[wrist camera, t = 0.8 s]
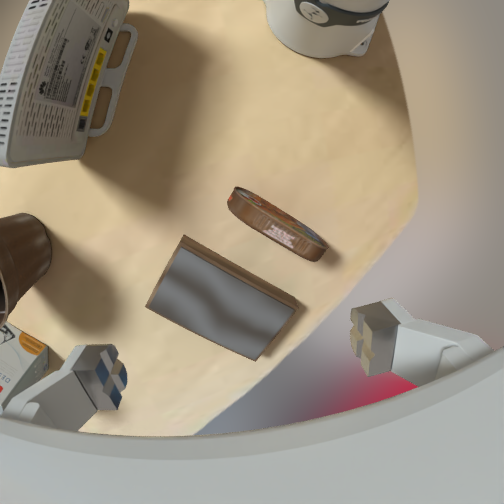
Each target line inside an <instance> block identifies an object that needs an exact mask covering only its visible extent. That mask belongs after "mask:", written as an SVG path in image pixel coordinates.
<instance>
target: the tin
mask: <svg viewBox="0 0 504 504" xmlns="http://www.w3.org/2000/svg"><path fill="white" fill-rule="evenodd" d="M227 204H228V208H229V210H230V211H231V212H232V213H233V214H234V215H235V216H236V217H237V218H239V219H240V220H241V221H242V222H244V223H245V224H247V225H248V226H250V227H251V228H253V229H255V230H256V231H258V232H260V233H261V234H263V235H265V236H266V237H268V238H270V239H271V240H273V241H275V242H276V243H278V244H280V245H282V246H283V247H285V248H287V249H289V250H290V251H292V252H294V253H295V254H297V255H299V256H301V257H303V258H304V259H307V260H309V261H313V262H316V261H318V260H319V259H320V258H321V256H322V255H323V254H324V252H325V251H326V250H327V249H328V248H329V247H328V245H327V244H326V242H325V241H324V240H323V239H322V238H320V237H319V236H318V235H317V234H316V233H315V232H314V231H312V230H311V229H310V228H308V227H307V226H306V225H304V224H302V223H301V222H300V221H298V220H296V219H295V218H293V217H292V216H290V215H288V214H287V213H285V212H284V211H282V210H280V209H279V208H277V207H276V206H274V205H272V204H271V203H269V202H268V201H266V200H264V199H263V198H261V197H259V196H258V195H256V194H254V193H252V192H250V191H248V190H246V189H244V188H240V187H235V188H234V191H233V192H232V194H231V196H230V197H229V199H228V201H227Z"/></svg>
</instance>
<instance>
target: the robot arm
mask: <svg viewBox="0 0 504 504" xmlns="http://www.w3.org/2000/svg"><path fill="white" fill-rule="evenodd" d="M263 1H264V3H265V5H266V11H267V21H268V24H269V26H270V28H271V30H272V32H273V33H274V35H275V36H276V37H277V38H278V39H279V40H280V41H281V42H282V43H283V44H284V45H286V46H287V47H289V48H290V49H292V50H294V51H296V52H298V53H300V54H303V55H306V56H310V57H316V58H331V57H336V56H339V55H351V56H363V55H364V54H365V53H366V52H367V49H368V46H369V43H370V41H371V38H372V35H373V32H374V31H375V27H376V24H377V21H378V18H379V15H380V14H381V13H382V11H383V10H384V9H385V8H386V6H387V5H388V3H389V0H263ZM361 43H362V45H361ZM351 321H352V323H353V324H354V326H353V327H352V329H351V330H350V340H351V346H352V349H353V352H354V353H355V355H356V356H357V357H359V358H361V366H362V367H363V369H364V371H365V373H366V374H367V376H368V377H370V376H373V375H377V374H381V373H384V372H388V371H392V372H393V373H395V374H397V375H398V376H400V377H402V378H404V379H406V380H407V381H409V382H411V383H413V384H415V385H417V386H418V388H415V389H413V390H410V391H407V392H405V393H402V394H399V395H396V396H394V397H391V398H388V399H385V400H382V401H379V402H376V403H373V404H369V405H366V406H363V407H359V408H356V409H353V410H349V411H345V412H341V413H338V414H334V415H330V416H325V417H321V418H317V419H312V420H308V421H303V422H298V423H293V424H287V425H282V426H276V427H270V428H263V429H257V430H249V431H241V432H232V433H223V434H210V435H194V436H123V435H108V434H96V433H87V432H78V430H79V429H80V428H81V427H82V426H83V425H84V424H85V423H86V422H87V421H88V420H89V419H90V418H91V417H92V416H93V415H94V414H95V413H96V412H97V410H118V407H119V404H120V401H121V399H122V396H121V394H120V392H121V391H123V390H124V389H125V388H126V385H127V372H126V368H125V366H124V364H123V363H122V362H121V361H119V360H118V359H117V358H118V354H119V353H118V351H117V349H116V347H115V346H114V345H113V344H91V345H77V346H75V348H74V349H73V351H72V352H71V353H70V355H69V356H68V358H67V359H66V361H65V362H64V364H63V365H62V367H61V368H60V370H59V371H55V372H53V373H51V374H50V375H48V376H47V377H45V378H43V379H42V380H40V381H39V382H37V383H35V384H34V385H32V386H31V387H29V388H27V389H26V390H24V391H23V392H21V393H19V394H18V395H16V396H15V397H13V398H12V399H11V401H10V402H9V404H8V405H7V407H6V408H5V410H4V411H3V413H2V415H1V416H0V504H504V346H503V347H501V348H500V349H498V350H496V351H494V350H493V349H492V348H491V347H490V346H489V345H487V343H485V342H484V341H483V340H482V339H481V338H480V337H479V336H478V335H476V334H472V333H469V332H465V331H461V330H458V329H454V328H451V327H447V326H444V325H440V324H436V323H433V322H429V321H426V320H422V319H417V320H415V319H414V318H413V317H412V316H411V315H410V314H409V313H408V312H407V311H406V310H405V309H404V308H403V307H402V306H401V305H400V304H399V303H398V302H397V301H396V300H395V299H393V298H389V299H386V300H383V301H379V302H376V303H372V304H369V305H364V306H361V307H357V308H353V309H352V310H351Z"/></svg>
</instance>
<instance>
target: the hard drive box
mask: <svg viewBox="0 0 504 504" xmlns="http://www.w3.org/2000/svg"><path fill="white" fill-rule="evenodd" d="M47 370H48V346H46V345H44V344H43V343H41V342H39V341H38V340H37V339H35V338H33V337H31V336H29V335H27V334H25V333H24V332H22V331H20V330H19V329H17V328H16V327H14V326H12V325H11V324H10V323H8V322H7V321H6V323H5V324H4V326H3V327H2V328H1V329H0V416H1V415H2V413H3V411H4V410H5V408H6V407H7V405H8V404H9V402H10V401H11V399H12V398H13V397H15V396H16V395H18V394H19V393H21V392H23V391H24V390H26V389H27V388H29V387H31V386H32V385H34V384H35V383H37V382H39V381H40V380H41V378H42V377H43V375H44V374H45V373H46V371H47Z"/></svg>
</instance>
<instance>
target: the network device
mask: <svg viewBox="0 0 504 504" xmlns="http://www.w3.org/2000/svg"><path fill="white" fill-rule="evenodd" d="M128 9H129V0H30V1H29V3H28V5H27V7H26V9H25V11H24V13H23V16H22V18H21V20H20V22H19V25H18V27H17V29H16V32H15V34H14V37H13V39H12V42H11V45H10V48H9V51H8V53H7V56H6V59H5V62H4V65H3V68H2V72H1V75H0V166H3V167H9V168H17V167H23V166H30V165H37V164H44V163H52V162H60V161H68V160H78V159H80V158H81V157H82V156H83V154H84V152H85V148H86V143H87V138H88V136H90V137H97V136H100V135H102V134H104V133H105V132H106V131H107V130H108V129H109V128H110V126H111V124H112V121H113V117H114V113H115V109H116V105H117V102H118V98H119V94H120V91H121V88H122V84H123V81H124V78H125V74H126V71H127V68H128V65H129V62H130V59H131V56H132V53H133V51H134V48H135V45H136V42H137V39H138V32H137V30H136V29H135V27H134V26H132V25H130V24H126V23H123V21H124V19H125V16H126V14H127V12H128ZM119 31H126V32H131V39H130V41H129V44H128V47H127V49H126V52H125V55H124V58H123V61H122V63H121V65H120V66H119V67H117V68H114V69H112V68H106V67H107V64H108V61H109V58H110V55H111V52H112V49H113V46H114V44H115V41H116V38H117V36H118V33H119ZM100 86H101V87H110V88H111V89H112V97H111V100H110V104H109V108H108V112H107V116H106V120H105V123H104V125H103V126H102V127H101V128H100V129H91V128H90V124H91V120H92V116H93V112H94V108H95V104H96V100H97V96H98V93H99V89H100Z"/></svg>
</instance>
